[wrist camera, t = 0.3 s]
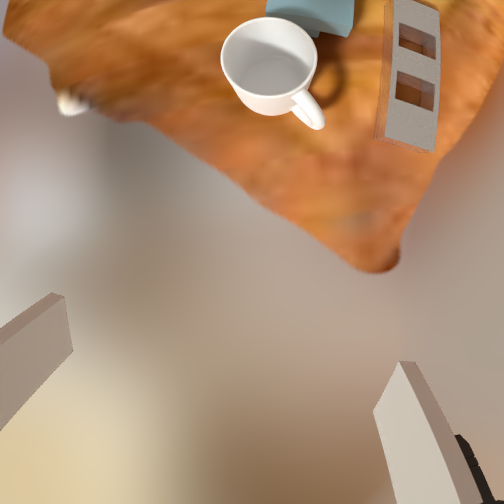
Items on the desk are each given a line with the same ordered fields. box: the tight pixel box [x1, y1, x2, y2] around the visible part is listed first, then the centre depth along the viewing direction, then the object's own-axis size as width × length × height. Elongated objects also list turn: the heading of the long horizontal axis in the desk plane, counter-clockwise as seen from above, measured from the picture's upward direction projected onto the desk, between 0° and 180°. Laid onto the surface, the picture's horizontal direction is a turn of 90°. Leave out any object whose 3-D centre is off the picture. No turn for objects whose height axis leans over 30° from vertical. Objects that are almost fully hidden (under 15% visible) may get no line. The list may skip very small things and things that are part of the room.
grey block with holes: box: [373, 0, 441, 153], centre depth 27 cm, size 20×6×4 cm, turn 171°
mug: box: [221, 17, 326, 130], centre depth 27 cm, size 12×8×10 cm
